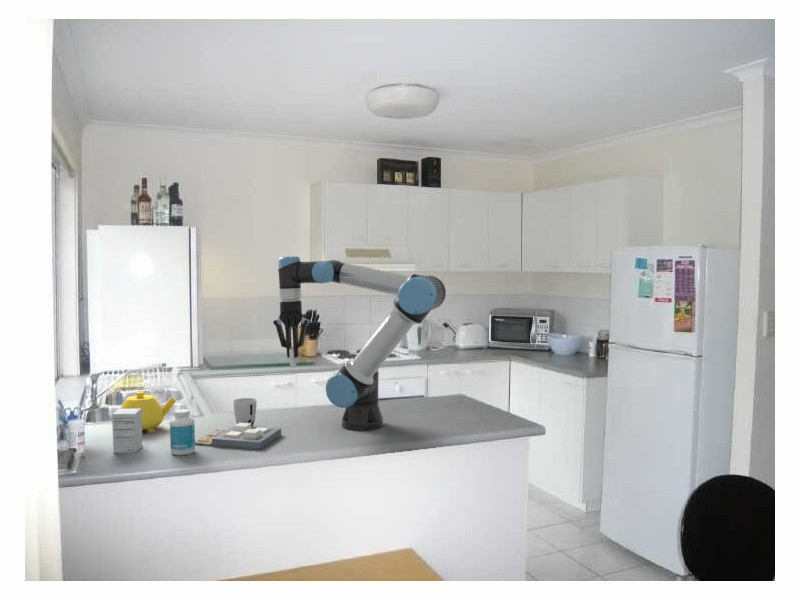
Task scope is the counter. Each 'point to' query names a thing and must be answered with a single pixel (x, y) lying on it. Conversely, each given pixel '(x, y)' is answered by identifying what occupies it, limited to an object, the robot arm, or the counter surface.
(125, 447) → the supplement box
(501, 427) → the counter surface
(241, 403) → the cup
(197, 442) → the card
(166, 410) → the teapot
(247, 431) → the button
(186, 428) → the pill bottle
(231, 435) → the button
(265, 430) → the button
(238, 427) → the button
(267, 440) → the button board
